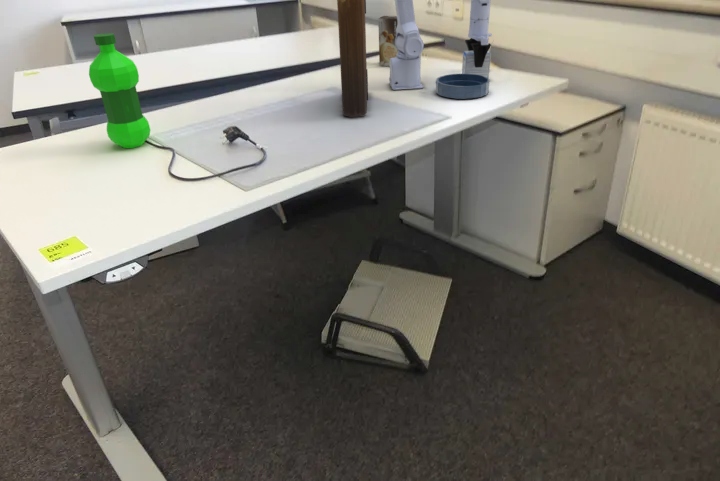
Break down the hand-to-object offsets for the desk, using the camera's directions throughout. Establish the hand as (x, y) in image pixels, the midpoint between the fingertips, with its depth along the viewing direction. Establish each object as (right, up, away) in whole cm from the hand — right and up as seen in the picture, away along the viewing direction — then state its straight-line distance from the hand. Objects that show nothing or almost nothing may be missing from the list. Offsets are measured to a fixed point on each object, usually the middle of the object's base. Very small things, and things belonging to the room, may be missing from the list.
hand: (476, 65), depth 169 cm
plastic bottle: (-91, -32, -39) cm, 104 cm away
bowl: (-6, -12, -10) cm, 17 cm away
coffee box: (-24, +8, +25) cm, 36 cm away
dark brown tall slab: (-38, -17, -18) cm, 45 cm away
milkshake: (+5, +2, +12) cm, 13 cm away
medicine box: (0, -4, +2) cm, 5 cm away
